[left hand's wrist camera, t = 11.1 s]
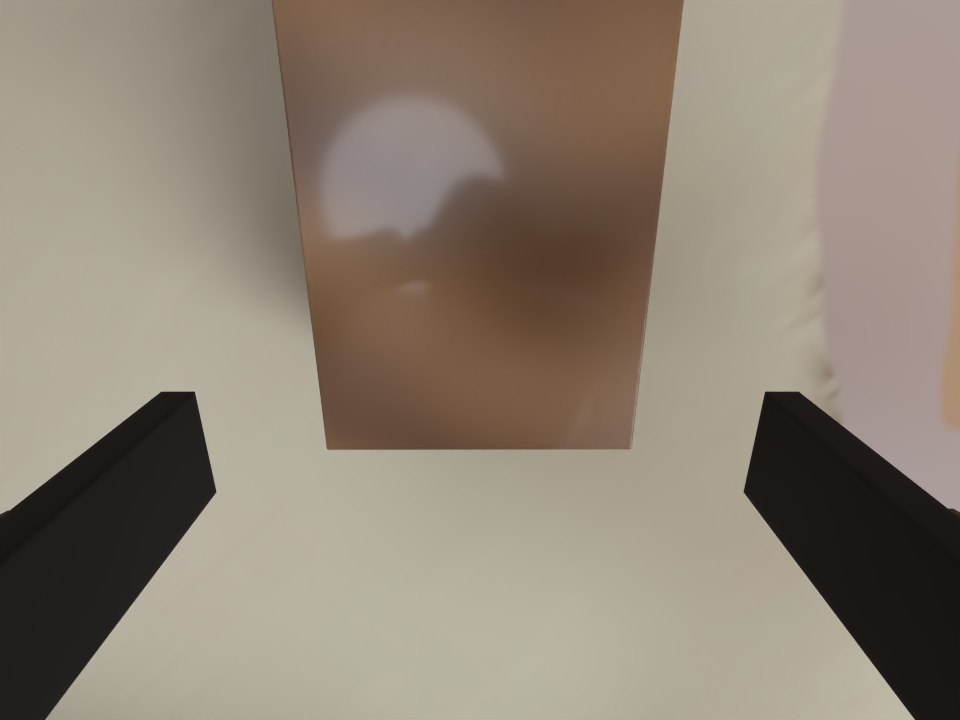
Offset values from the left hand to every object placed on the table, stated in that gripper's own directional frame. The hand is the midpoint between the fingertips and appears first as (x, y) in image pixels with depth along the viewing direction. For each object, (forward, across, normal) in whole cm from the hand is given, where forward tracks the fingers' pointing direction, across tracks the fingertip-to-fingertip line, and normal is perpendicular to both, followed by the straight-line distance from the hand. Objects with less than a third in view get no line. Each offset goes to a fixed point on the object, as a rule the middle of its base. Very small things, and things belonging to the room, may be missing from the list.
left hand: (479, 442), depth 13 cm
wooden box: (+13, 0, -6) cm, 14 cm away
